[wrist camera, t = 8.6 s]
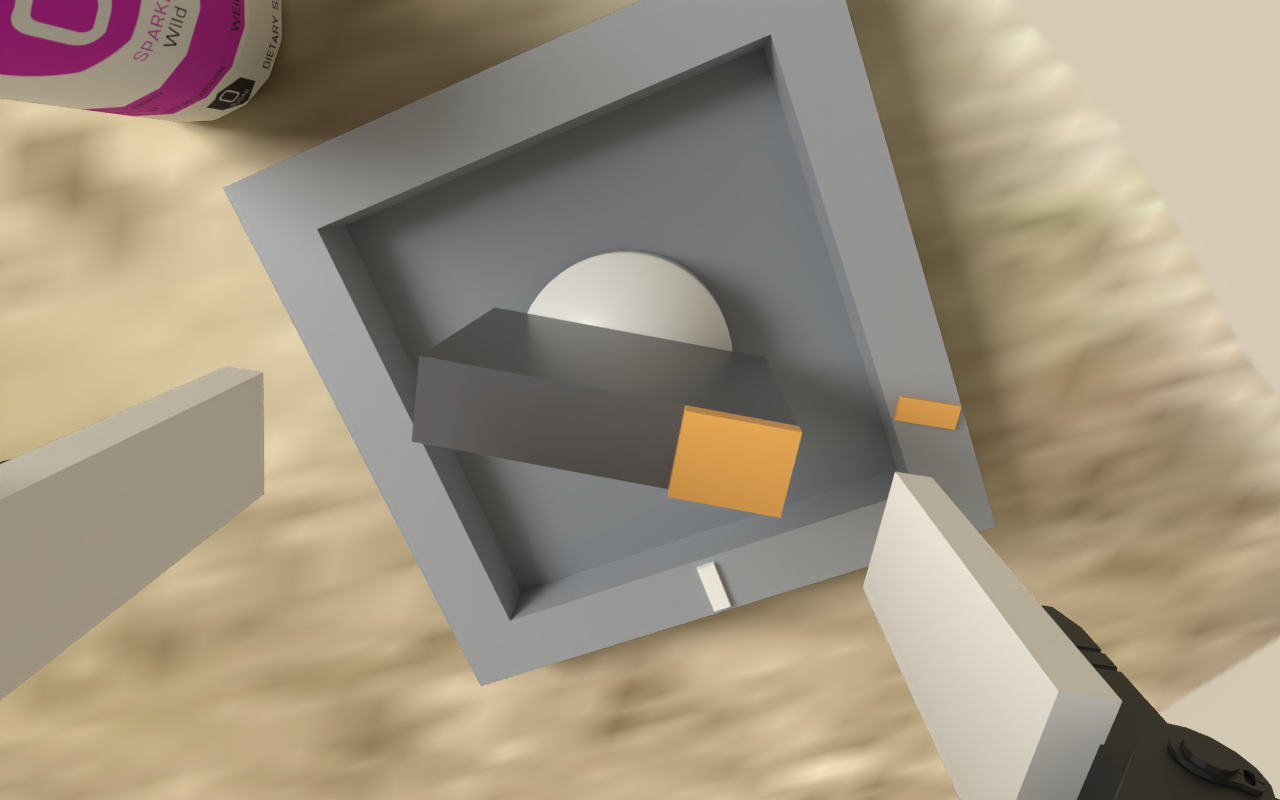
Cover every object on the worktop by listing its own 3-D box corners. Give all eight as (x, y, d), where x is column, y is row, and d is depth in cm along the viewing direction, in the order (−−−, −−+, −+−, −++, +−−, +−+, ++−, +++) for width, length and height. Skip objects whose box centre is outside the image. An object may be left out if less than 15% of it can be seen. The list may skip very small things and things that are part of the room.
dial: (491, 423, 30) (396, 543, 20) (516, 226, 28) (422, 248, 18) (730, 467, 30) (757, 609, 20) (775, 274, 28) (829, 324, 18)
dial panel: (275, 188, 29) (219, 187, 26) (803, -47, 26) (823, -85, 22) (500, 637, 34) (479, 689, 31) (962, 490, 31) (998, 530, 28)
